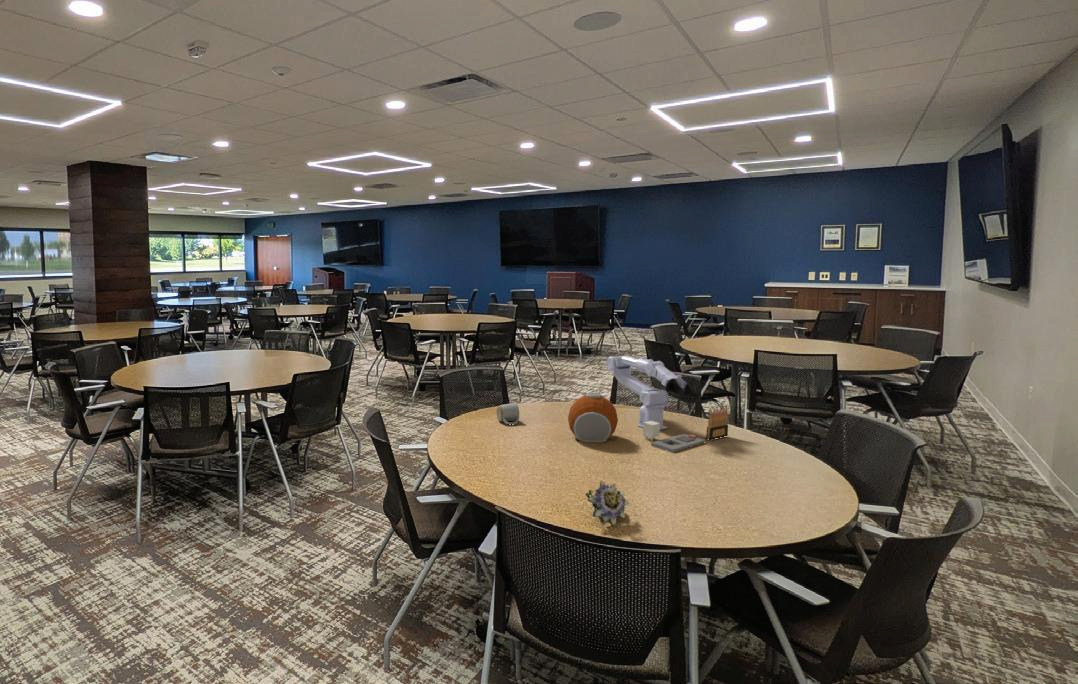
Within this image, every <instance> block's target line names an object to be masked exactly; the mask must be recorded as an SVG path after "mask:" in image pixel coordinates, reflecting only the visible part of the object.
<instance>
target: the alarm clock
mask: <svg viewBox="0 0 1078 684" xmlns="http://www.w3.org/2000/svg"><path fill="white" fill-rule="evenodd" d="M567 421H568V426H569V427H568V428H569V429H570V431H571V433H572V434H573V435H574V437H575V438H576V439H577V440H578V441H581V442H593V443H594V442H595V443H603V442H607V441H608V440H609V439H610V437H612V436H613V434H614V433H615V432H616V428H617V425H618V421H619V420H618V412H617V409H616V408H615V406H614V405H613V402H611V401H610V400H609V399H608V398H606V397H605V396H603V395H602V394H601V393H599V392H587V393H586V394H585V395H583V396H580V397H579V398H577V399H576V400H575V401H574V403H573V404H572V405H571V406H570V408H569V411H568V416H567Z"/></svg>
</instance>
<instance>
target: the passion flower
mask: <svg viewBox="0 0 1078 684" xmlns="http://www.w3.org/2000/svg"><path fill="white" fill-rule="evenodd" d="M598 486H599V487H598V489H595V490H593V489H589V490H588V492H586V493H585V496H586V497H587V498H588V499H587V501H588V502H589V503H591V504H592V507H593V511H592V516H593V518H594V517H595V518H596V517H601V521H602V522H603V524H606V523H607V522H608V523H609V524H610V526H615V525H616V523H617V517H620V518H622V519H625V517H626V513H625V511H626V507H625V506H628V505H630V500H627V499H626V498H625V492H622V491H620V490H618V488H617V484H616V483H612V484H611V485H609V484H605V482H604V480H599V485H598ZM594 492H595V493H594ZM593 493H594V494H593Z"/></svg>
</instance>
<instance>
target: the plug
mask: <svg viewBox="0 0 1078 684" xmlns="http://www.w3.org/2000/svg"><path fill="white" fill-rule="evenodd" d="M660 431H661V430H660V423H657V422H654V421H648V422H644V425H643V427H642V435H643V436H645V438H644V440H647V441H648V440H649V441H650V442H654V439H655V438H656V437H657V438H658V437H660Z"/></svg>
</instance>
